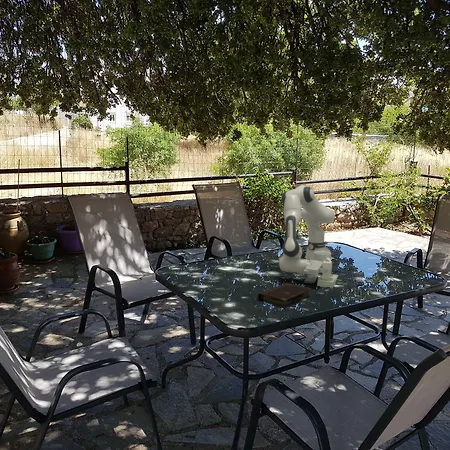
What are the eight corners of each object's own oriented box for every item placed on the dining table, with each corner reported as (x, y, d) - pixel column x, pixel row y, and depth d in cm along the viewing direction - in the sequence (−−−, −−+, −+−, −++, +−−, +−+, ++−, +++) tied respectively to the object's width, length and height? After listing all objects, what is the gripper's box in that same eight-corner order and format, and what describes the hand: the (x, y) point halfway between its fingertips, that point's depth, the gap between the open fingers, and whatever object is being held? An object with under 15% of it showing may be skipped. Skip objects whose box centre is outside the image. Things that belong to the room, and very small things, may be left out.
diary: (257, 300, 238) (257, 291, 238) (284, 290, 256) (284, 282, 255) (285, 309, 226) (285, 299, 225) (312, 297, 244) (312, 288, 243)
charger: (323, 276, 267) (324, 258, 265) (330, 277, 265) (331, 259, 263) (322, 278, 262) (323, 260, 261) (329, 279, 261) (330, 261, 259)
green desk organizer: (323, 276, 282) (323, 271, 281) (337, 278, 278) (338, 272, 278) (317, 286, 262) (317, 280, 261) (332, 288, 258) (333, 282, 258)
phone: (308, 276, 280) (308, 274, 280) (318, 278, 278) (318, 276, 278) (304, 282, 268) (304, 280, 268) (314, 283, 266) (314, 281, 266)
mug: (337, 274, 286) (338, 255, 284) (324, 276, 281) (325, 256, 279) (323, 268, 299) (323, 250, 297) (309, 270, 294) (310, 251, 292)
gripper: (301, 266, 257) (325, 268, 252) (308, 258, 276) (331, 260, 271) (301, 276, 259) (325, 279, 253) (308, 267, 277) (330, 270, 272)
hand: (328, 269), depth 262 cm, fingers closed on charger, 4 cm apart
